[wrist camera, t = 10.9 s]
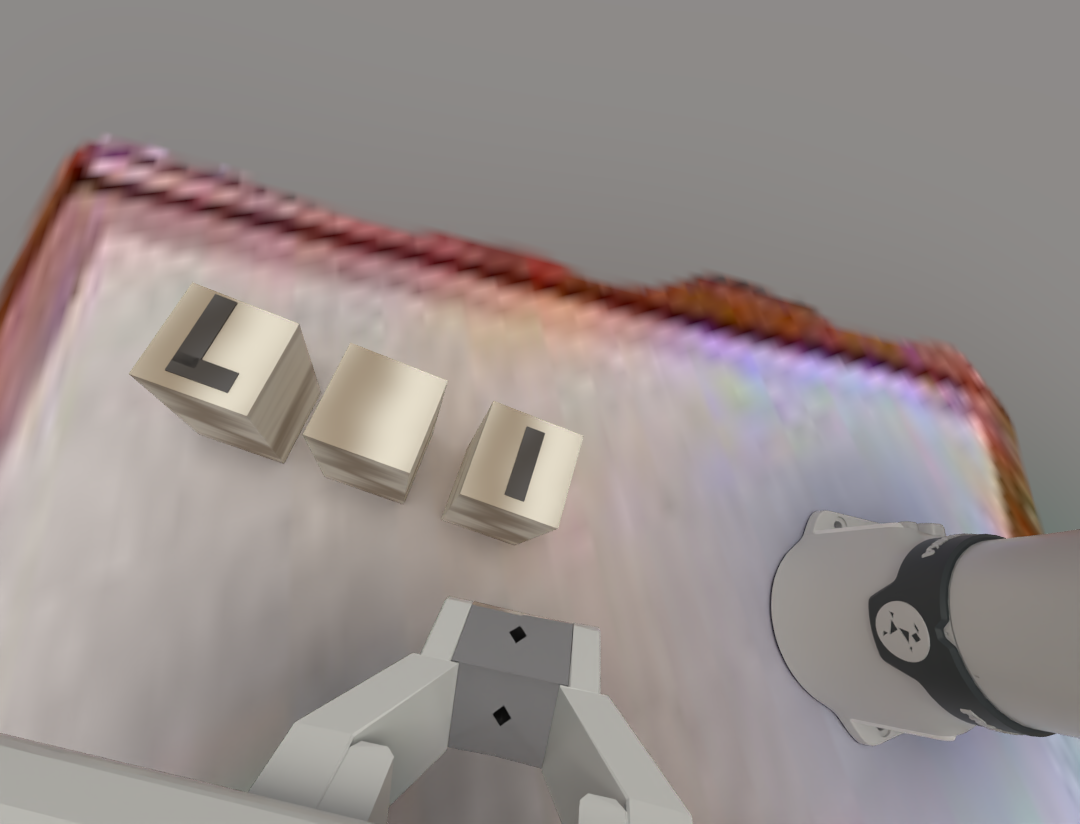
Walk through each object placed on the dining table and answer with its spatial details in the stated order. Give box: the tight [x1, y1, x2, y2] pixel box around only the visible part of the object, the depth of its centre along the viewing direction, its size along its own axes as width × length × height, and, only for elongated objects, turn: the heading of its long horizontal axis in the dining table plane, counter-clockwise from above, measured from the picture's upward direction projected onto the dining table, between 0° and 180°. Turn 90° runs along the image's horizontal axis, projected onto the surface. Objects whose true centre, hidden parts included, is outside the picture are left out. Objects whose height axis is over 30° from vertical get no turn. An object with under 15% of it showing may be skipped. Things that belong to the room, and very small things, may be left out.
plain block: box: [303, 343, 448, 505], centre depth 34 cm, size 6×6×11 cm
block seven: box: [129, 282, 321, 464], centre depth 33 cm, size 6×6×11 cm
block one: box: [441, 401, 583, 545], centre depth 36 cm, size 6×6×11 cm
